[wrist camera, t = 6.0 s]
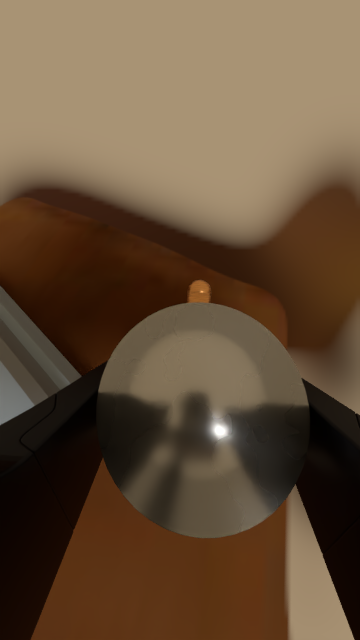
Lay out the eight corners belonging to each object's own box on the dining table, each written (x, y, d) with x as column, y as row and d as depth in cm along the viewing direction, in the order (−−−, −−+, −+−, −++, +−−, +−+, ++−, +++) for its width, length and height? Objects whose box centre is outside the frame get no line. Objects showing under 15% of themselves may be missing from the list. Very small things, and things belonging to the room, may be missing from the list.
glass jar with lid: (231, 439, 13) (331, 550, 4) (146, 433, 14) (71, 525, 5) (228, 327, 16) (284, 252, 7) (158, 323, 16) (126, 247, 7)
